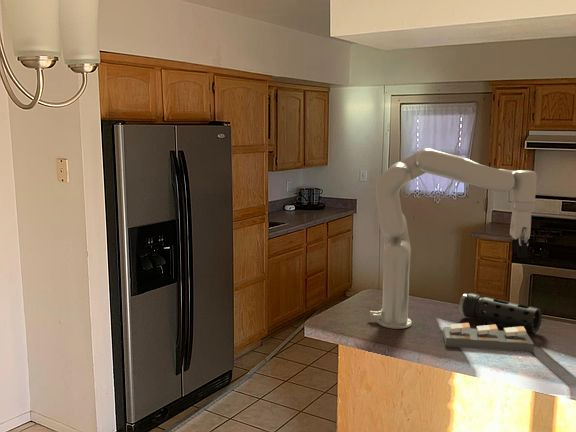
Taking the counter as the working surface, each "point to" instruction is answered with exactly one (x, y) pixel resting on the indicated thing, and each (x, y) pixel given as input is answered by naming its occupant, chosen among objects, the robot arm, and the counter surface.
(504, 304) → the muzzle brake
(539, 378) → the counter surface
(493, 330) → the switch middle
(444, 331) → the switch unit
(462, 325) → the switch left
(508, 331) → the switch right
